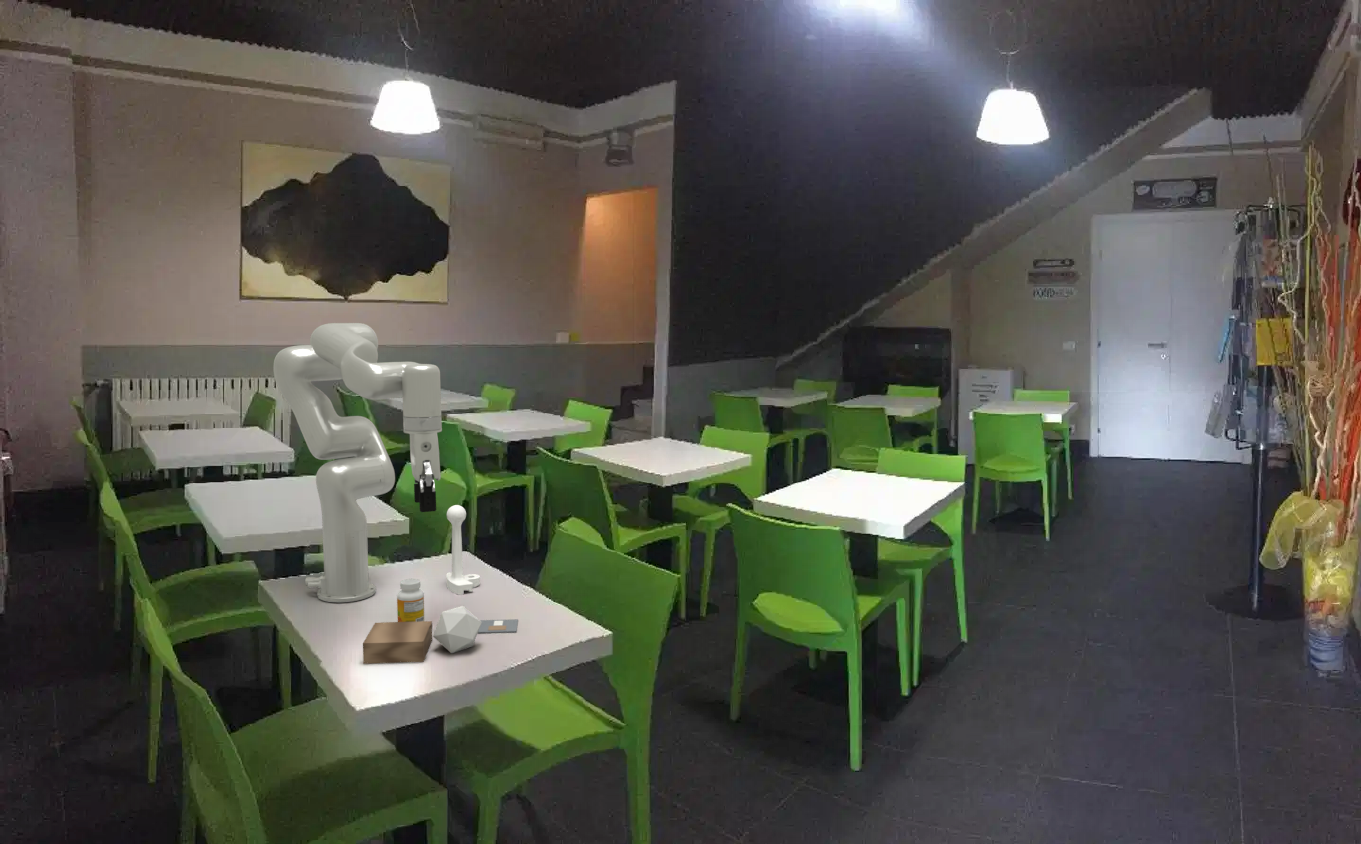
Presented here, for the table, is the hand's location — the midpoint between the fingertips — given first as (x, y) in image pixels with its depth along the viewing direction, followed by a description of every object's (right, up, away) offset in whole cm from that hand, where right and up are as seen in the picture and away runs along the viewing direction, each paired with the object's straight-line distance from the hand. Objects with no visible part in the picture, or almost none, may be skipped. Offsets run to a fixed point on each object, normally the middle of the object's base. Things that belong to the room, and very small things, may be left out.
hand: (425, 506), depth 186 cm
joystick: (+1, -22, +29) cm, 36 cm away
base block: (-2, -27, -12) cm, 30 cm away
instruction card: (+15, -26, +2) cm, 29 cm away
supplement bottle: (-4, -26, +2) cm, 26 cm away
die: (+9, -27, -9) cm, 30 cm away
